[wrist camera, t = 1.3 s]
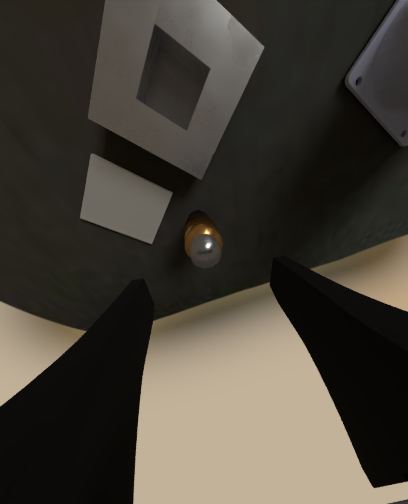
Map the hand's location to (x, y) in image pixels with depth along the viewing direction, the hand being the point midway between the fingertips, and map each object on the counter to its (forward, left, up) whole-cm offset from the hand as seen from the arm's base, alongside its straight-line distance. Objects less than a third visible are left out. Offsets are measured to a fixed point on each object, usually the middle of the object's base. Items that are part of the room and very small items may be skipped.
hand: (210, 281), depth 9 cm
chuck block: (+6, -8, -10) cm, 14 cm away
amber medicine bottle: (0, 0, -10) cm, 10 cm away
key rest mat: (+7, +2, -10) cm, 12 cm away
